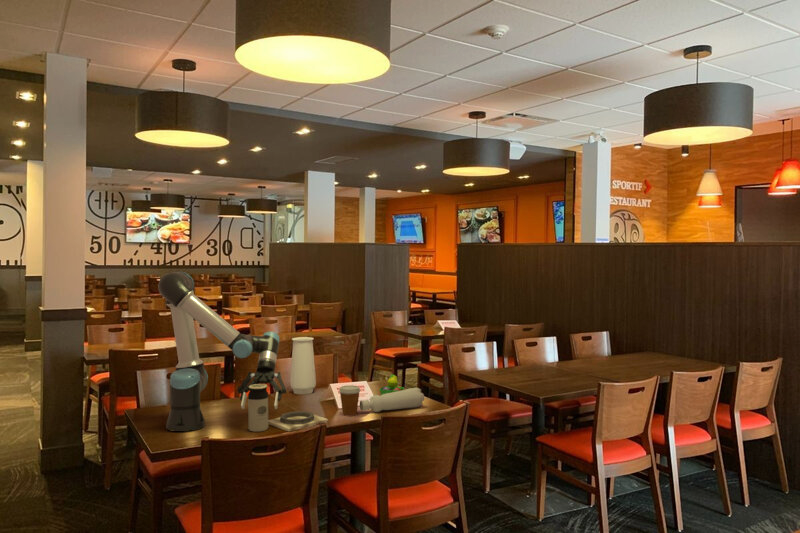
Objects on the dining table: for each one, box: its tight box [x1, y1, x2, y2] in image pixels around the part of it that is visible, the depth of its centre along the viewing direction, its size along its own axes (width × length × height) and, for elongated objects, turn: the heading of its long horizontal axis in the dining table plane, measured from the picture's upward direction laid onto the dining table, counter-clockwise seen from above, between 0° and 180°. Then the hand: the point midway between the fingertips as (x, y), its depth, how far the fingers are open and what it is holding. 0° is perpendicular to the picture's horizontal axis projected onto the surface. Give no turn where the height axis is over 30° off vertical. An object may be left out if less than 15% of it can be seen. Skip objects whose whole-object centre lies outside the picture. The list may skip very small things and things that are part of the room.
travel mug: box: [247, 383, 269, 433], centre depth 252 cm, size 8×8×18 cm
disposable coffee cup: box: [338, 384, 361, 416], centre depth 276 cm, size 10×10×12 cm
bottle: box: [359, 387, 425, 413], centre depth 283 cm, size 9×9×30 cm
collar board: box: [268, 410, 329, 433], centre depth 262 cm, size 20×17×3 cm
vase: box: [290, 336, 317, 395], centre depth 318 cm, size 13×13×28 cm
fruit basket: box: [379, 374, 405, 395], centre depth 305 cm, size 11×9×11 cm
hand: (259, 407), depth 251 cm, fingers open, 13 cm apart
